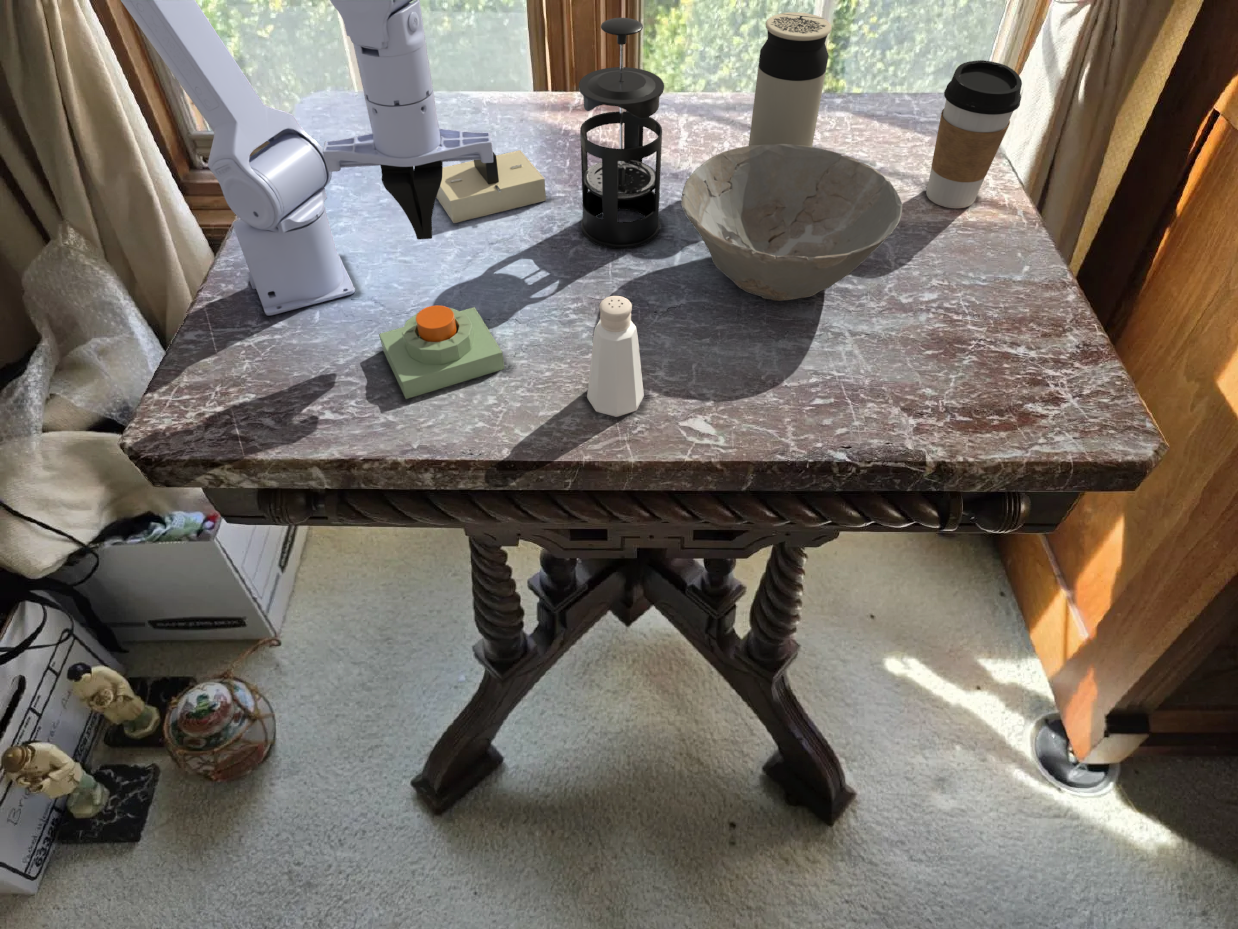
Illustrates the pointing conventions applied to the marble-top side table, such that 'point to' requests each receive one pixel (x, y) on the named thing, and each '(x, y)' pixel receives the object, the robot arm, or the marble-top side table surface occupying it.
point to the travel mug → (790, 80)
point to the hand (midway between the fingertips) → (424, 233)
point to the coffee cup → (971, 130)
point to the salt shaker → (615, 360)
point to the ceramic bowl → (789, 216)
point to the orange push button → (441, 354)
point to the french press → (621, 150)
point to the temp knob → (488, 170)
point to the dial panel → (490, 188)
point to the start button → (436, 323)
